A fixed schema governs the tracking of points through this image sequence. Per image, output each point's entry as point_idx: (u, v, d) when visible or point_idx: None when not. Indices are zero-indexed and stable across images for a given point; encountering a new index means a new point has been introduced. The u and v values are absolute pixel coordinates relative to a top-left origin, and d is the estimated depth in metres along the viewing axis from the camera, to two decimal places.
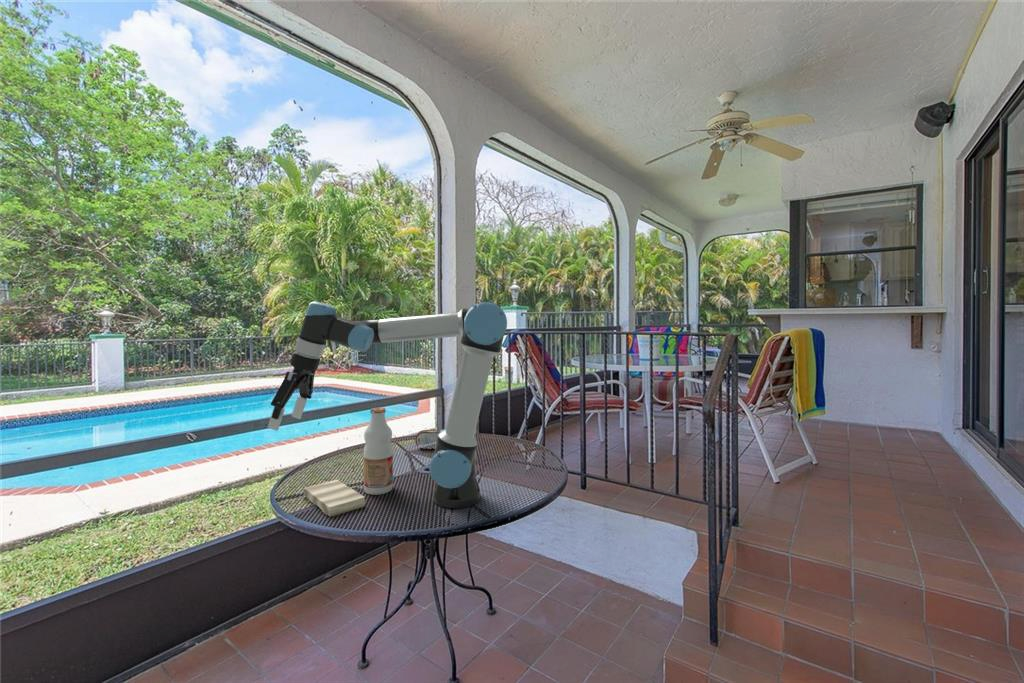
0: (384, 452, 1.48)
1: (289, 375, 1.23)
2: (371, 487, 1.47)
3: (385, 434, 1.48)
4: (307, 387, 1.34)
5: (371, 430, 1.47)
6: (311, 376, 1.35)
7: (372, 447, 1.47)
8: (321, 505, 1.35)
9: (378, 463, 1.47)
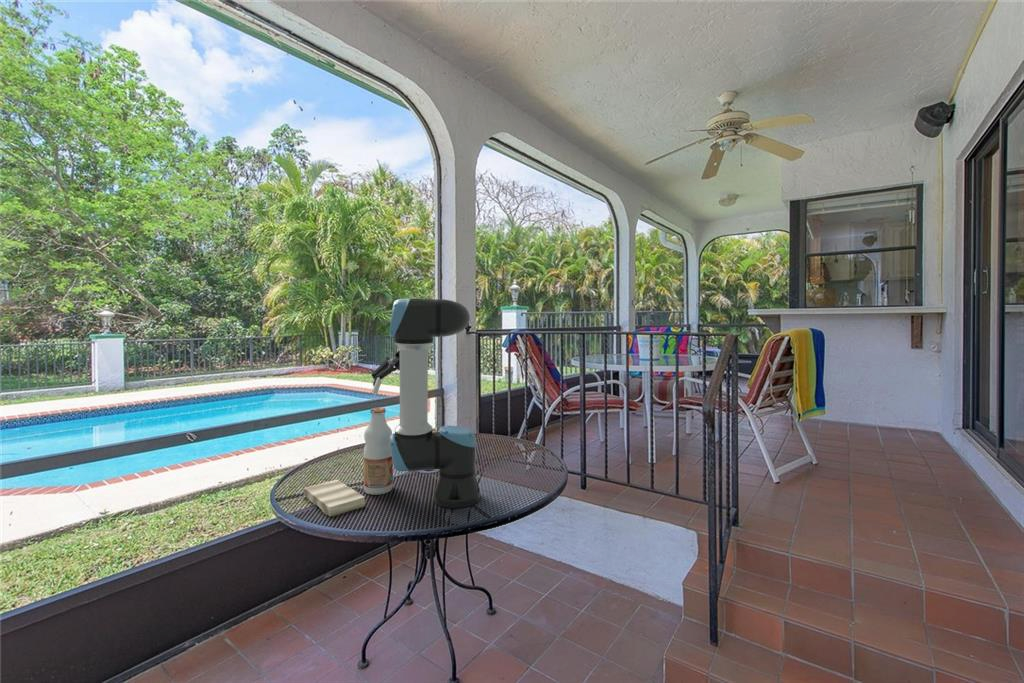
0: (384, 452, 1.48)
1: None
2: (371, 487, 1.47)
3: (385, 434, 1.48)
4: None
5: (371, 430, 1.47)
6: None
7: (372, 447, 1.47)
8: (321, 505, 1.35)
9: (378, 463, 1.47)
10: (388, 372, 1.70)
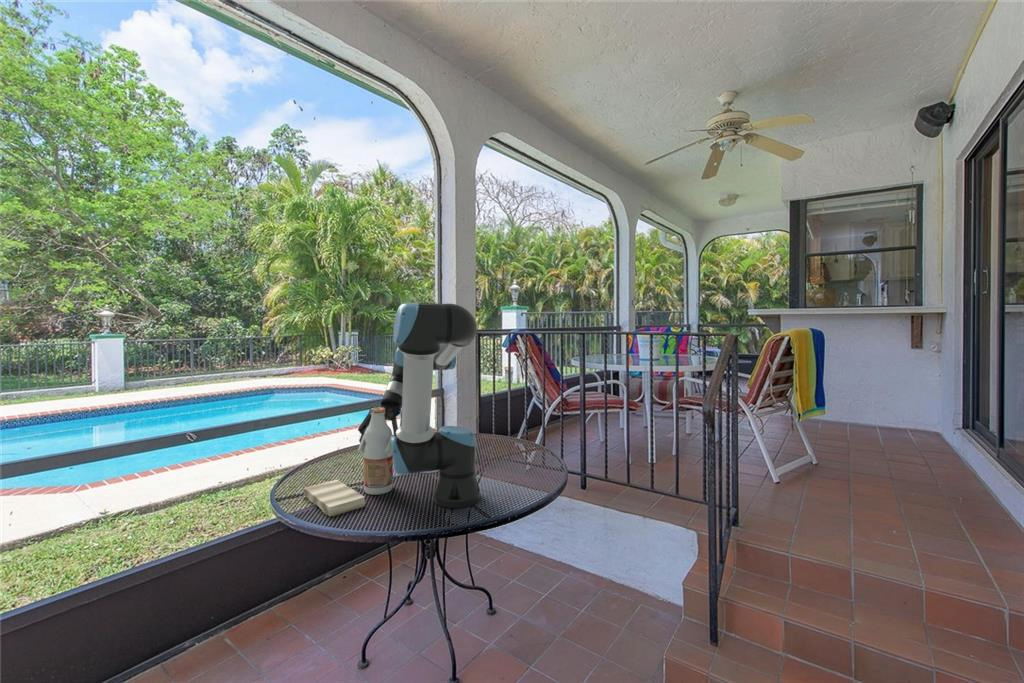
0: (384, 452, 1.48)
1: None
2: (371, 487, 1.47)
3: (385, 434, 1.48)
4: (393, 422, 1.54)
5: (371, 430, 1.47)
6: None
7: (372, 447, 1.47)
8: (321, 505, 1.35)
9: (377, 463, 1.47)
10: None
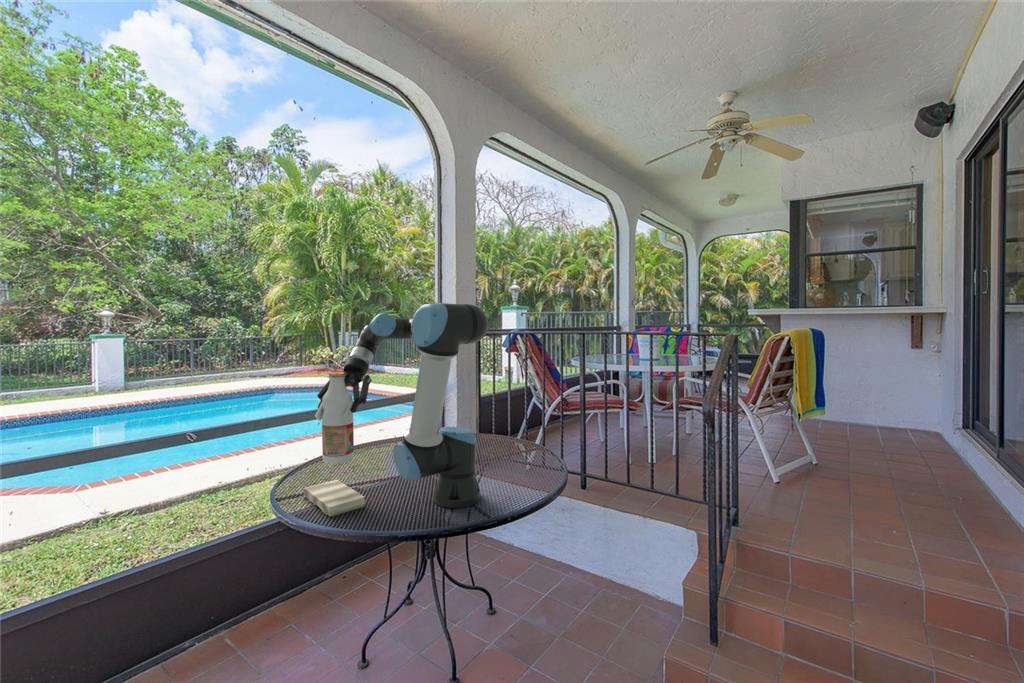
0: (342, 418, 1.39)
1: None
2: (328, 455, 1.39)
3: (343, 399, 1.39)
4: (354, 388, 1.45)
5: (329, 395, 1.39)
6: None
7: (330, 413, 1.39)
8: (321, 505, 1.35)
9: (335, 430, 1.39)
10: None
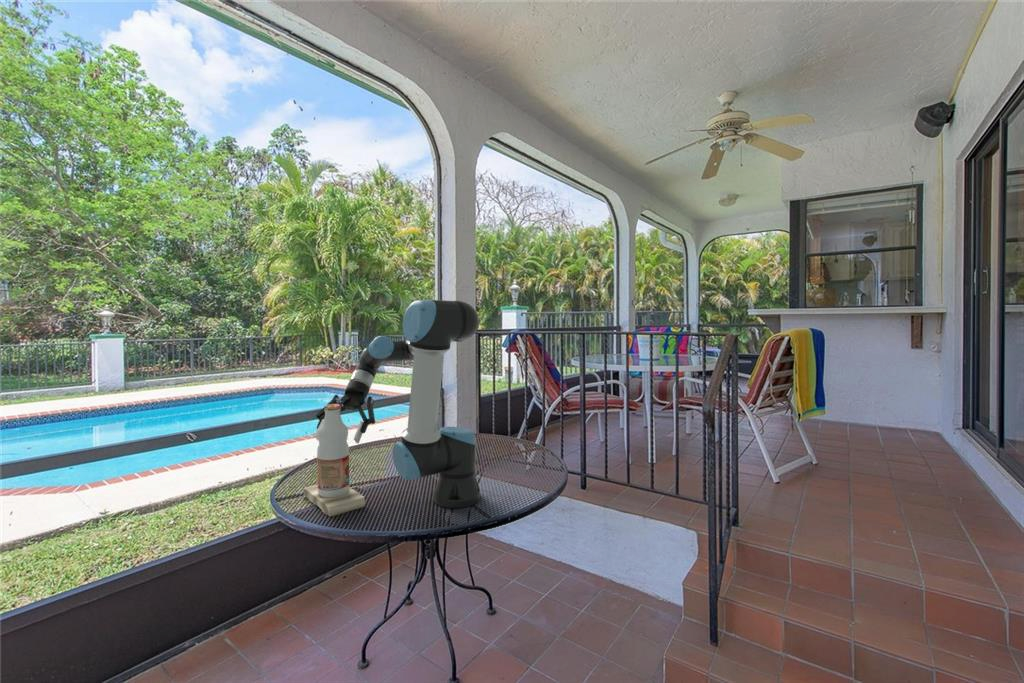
0: (338, 452, 1.38)
1: None
2: (324, 489, 1.38)
3: (339, 433, 1.38)
4: (360, 410, 1.49)
5: (324, 428, 1.37)
6: None
7: (325, 447, 1.37)
8: (321, 505, 1.35)
9: (331, 464, 1.37)
10: None
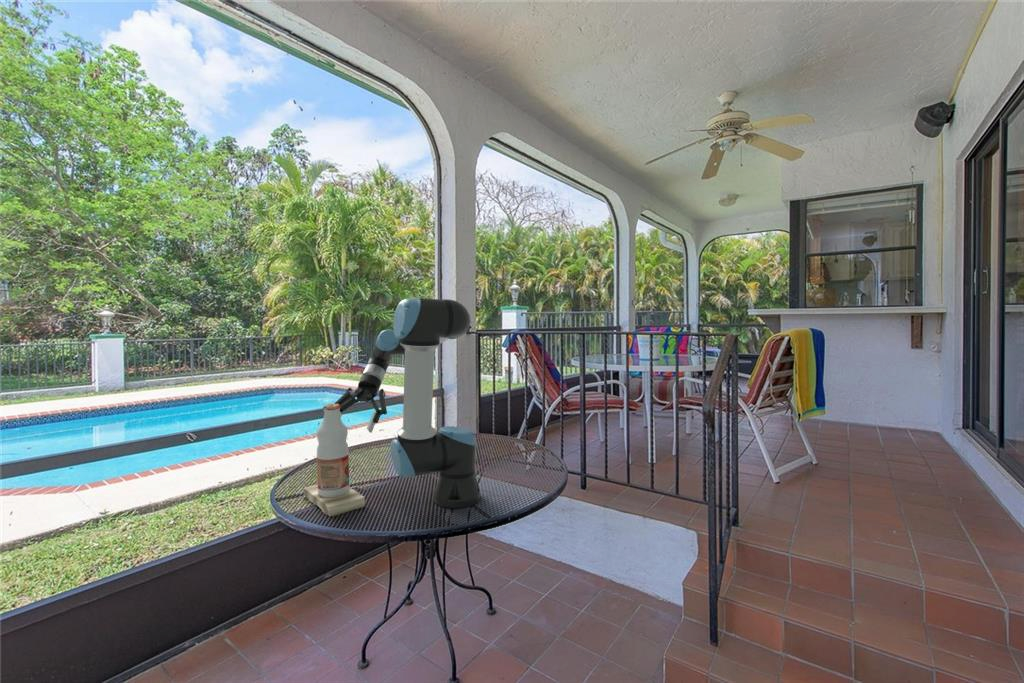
0: (337, 451, 1.38)
1: None
2: (324, 489, 1.38)
3: (339, 432, 1.38)
4: (373, 402, 1.57)
5: (324, 428, 1.37)
6: None
7: (325, 447, 1.37)
8: (321, 505, 1.35)
9: (331, 464, 1.37)
10: (349, 404, 1.59)
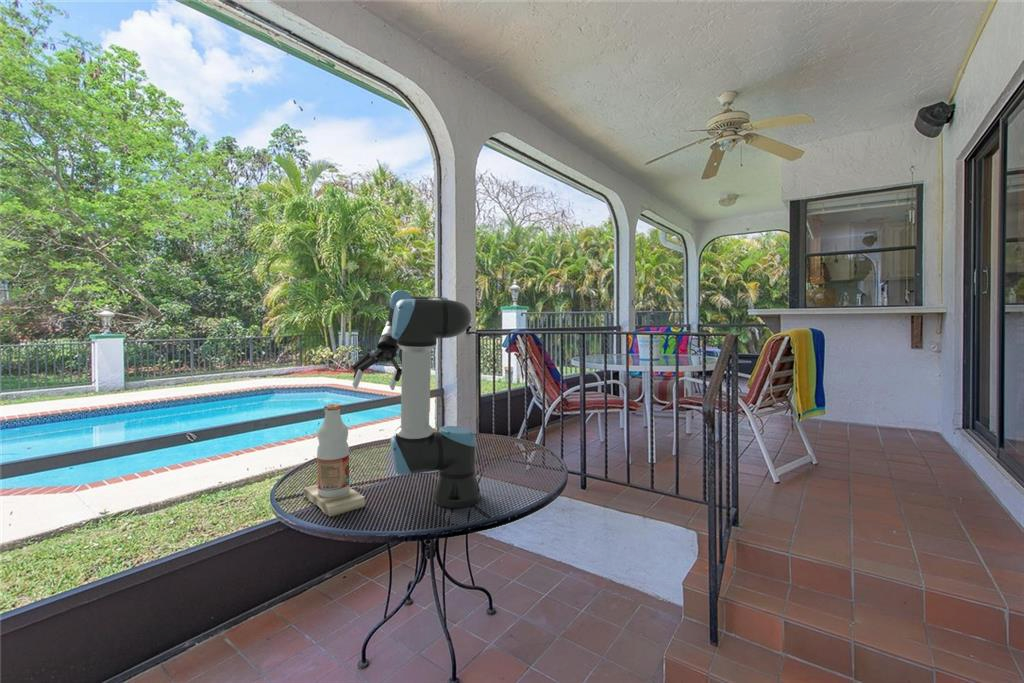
0: (338, 451, 1.38)
1: None
2: (324, 489, 1.38)
3: (339, 432, 1.38)
4: (393, 361, 1.61)
5: (325, 428, 1.37)
6: (399, 355, 1.63)
7: (325, 447, 1.37)
8: (321, 505, 1.35)
9: (331, 464, 1.37)
10: (370, 364, 1.63)
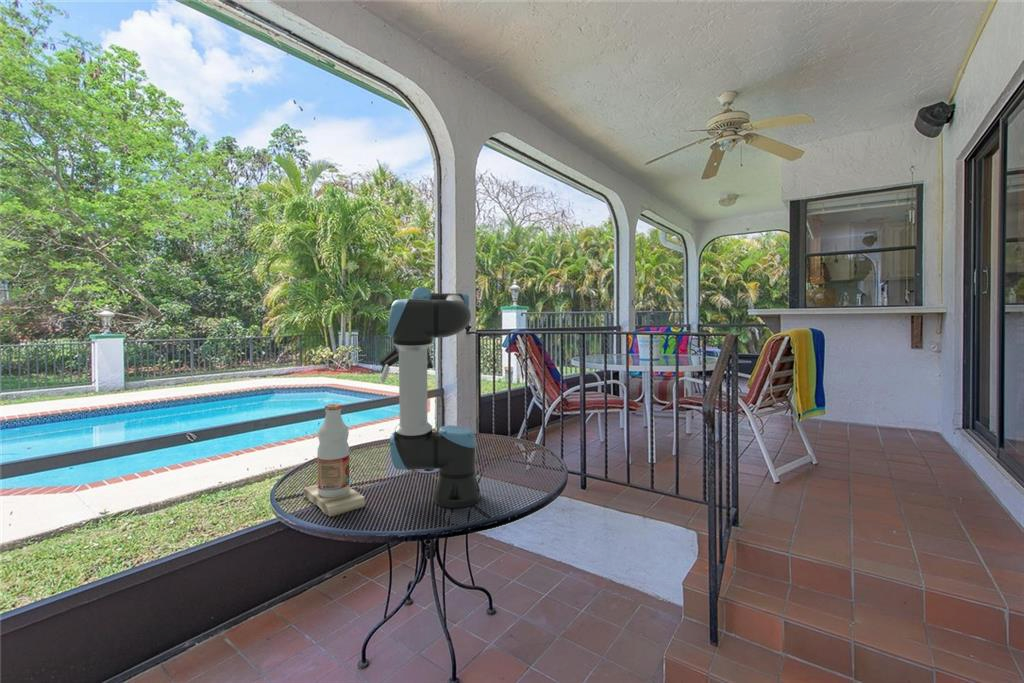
0: (338, 451, 1.38)
1: None
2: (324, 489, 1.38)
3: (340, 432, 1.38)
4: None
5: (325, 428, 1.37)
6: None
7: (326, 447, 1.37)
8: (321, 505, 1.35)
9: (331, 464, 1.37)
10: (396, 359, 1.69)
